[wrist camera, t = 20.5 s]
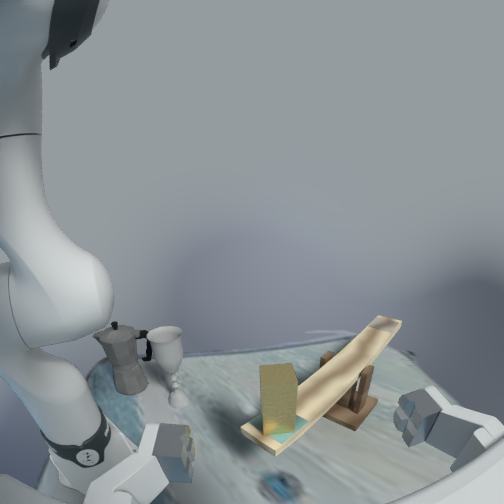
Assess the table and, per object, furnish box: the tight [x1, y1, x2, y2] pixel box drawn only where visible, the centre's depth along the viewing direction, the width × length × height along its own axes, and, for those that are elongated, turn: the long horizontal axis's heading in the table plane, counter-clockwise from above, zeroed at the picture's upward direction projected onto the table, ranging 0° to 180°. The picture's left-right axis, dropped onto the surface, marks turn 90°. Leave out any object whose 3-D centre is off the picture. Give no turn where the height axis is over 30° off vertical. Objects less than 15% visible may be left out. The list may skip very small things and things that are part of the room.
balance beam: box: [240, 315, 402, 457], centre depth 49 cm, size 7×49×2 cm, turn 134°
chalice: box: [147, 326, 190, 408], centre depth 54 cm, size 7×7×18 cm
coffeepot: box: [93, 322, 152, 395], centre depth 58 cm, size 15×9×18 cm, turn 100°
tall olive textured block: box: [259, 363, 298, 435], centre depth 34 cm, size 4×4×10 cm
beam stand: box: [320, 351, 378, 431], centre depth 50 cm, size 14×10×12 cm
